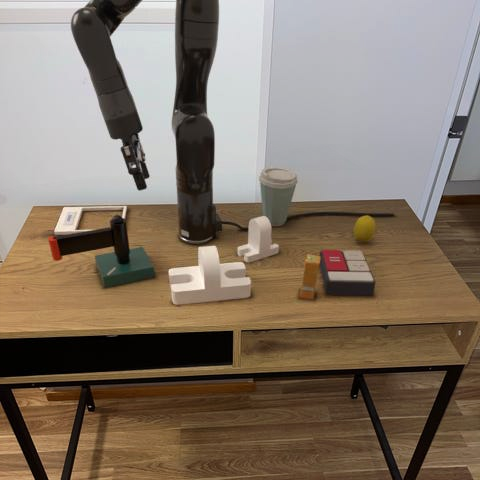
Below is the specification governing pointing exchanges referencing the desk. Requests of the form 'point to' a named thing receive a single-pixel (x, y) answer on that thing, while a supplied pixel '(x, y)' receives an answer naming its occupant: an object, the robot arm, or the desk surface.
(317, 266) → the supplement box
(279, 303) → the desk surface
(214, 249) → the white slotted bracket
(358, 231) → the lemon
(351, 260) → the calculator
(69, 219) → the photo frame
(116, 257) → the stand
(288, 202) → the disposable coffee cup
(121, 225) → the black l-shaped bar
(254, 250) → the cable organizer
